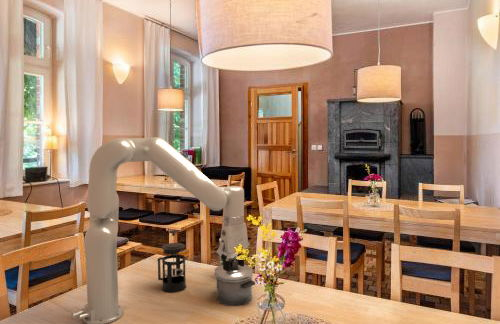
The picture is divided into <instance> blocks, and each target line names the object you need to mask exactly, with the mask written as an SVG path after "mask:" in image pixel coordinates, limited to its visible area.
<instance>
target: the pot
mask: <svg viewBox="0 0 500 324" xmlns="http://www.w3.org/2000/svg"><path fill="white" fill-rule="evenodd" d="M213 273H214V277H215V278H216V300H217V303H219V304H221V305H224V306H228V307H237V306H243V305H246V304H248V303H250V302H251V300H252V297H253V292H252V291H253V287H252V286H255V285H256V281H254V280H252V279H253V274H252V275H251V276H250V277H249V278H246V279H243V280H223V279H220V278H218V277H216V276H215V272H213Z"/></svg>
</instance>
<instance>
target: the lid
mask: <svg viewBox="0 0 500 324" xmlns="http://www.w3.org/2000/svg"><path fill="white" fill-rule="evenodd" d="M229 261H230V271H229V272H228V271H225V270H223V265H220V264H219V266H216V268H214V273H215V276H214V277H215V278H216V277H218V278H220V279H223V280H243V279H246V278H249V277H250V276H251V275H252V274H253V271H254V270H253V268H252V267H251V268H249V267H248V266H249V265H248V264H245V263H244V266H243V267H242V266H239V265H238V260H237V259H236V258H230V259H229ZM252 276H253V275H252Z"/></svg>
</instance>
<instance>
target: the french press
mask: <svg viewBox="0 0 500 324" xmlns="http://www.w3.org/2000/svg"><path fill="white" fill-rule="evenodd" d="M167 233H168V234H171V236H172V242H170V243H165V244H163V245H162V246H161V249H162V253H163V254H164V255H166V256H162V257H161V256H160V257H158V258H157V279H158V281H162V286H161V290H162V291H163V292H165V293H170V294H172V293H179V292H182V291H184V290H185V289H187V282H186V281H187V280H186V256H185V255H182V254H179V253H180V252H181V251H182V250H184V248H185V247H186V244H184V243H182V242H175V235H176V234H177V233H180V232H179V230H176V229H171V230H168V231H167ZM168 259H169V260H170V259H173V261H166V260H168ZM181 259H182V260H181ZM161 263H162V271H161ZM181 265H182V268H181ZM172 266H173V267H172ZM166 267H167V269H166ZM161 272H162V273H161ZM161 274H162V275H161ZM161 276H162V277H161Z"/></svg>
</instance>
